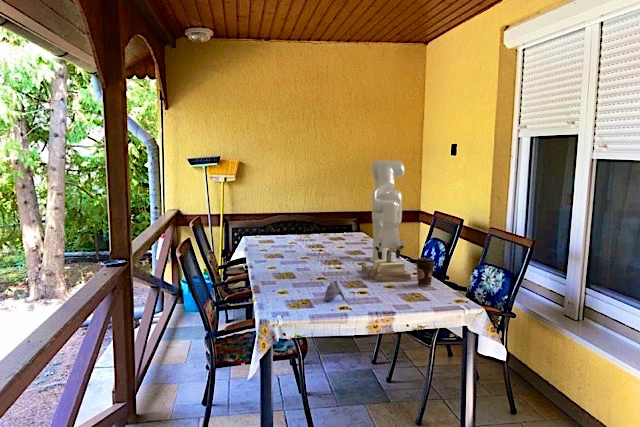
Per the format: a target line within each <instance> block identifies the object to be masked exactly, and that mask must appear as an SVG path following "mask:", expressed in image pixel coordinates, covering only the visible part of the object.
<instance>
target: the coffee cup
mask: <svg viewBox="0 0 640 427" xmlns="http://www.w3.org/2000/svg"><path fill="white" fill-rule="evenodd" d="M415 264H416V277H417V285H418V286H420V287H425V286H429V287H431V286H432V284H431V283H432V277H433V274H434V272H433V271H434V267H435V262H434V260H433V259H432V258H427V257H418V258H417V260H416V261H415Z"/></svg>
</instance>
